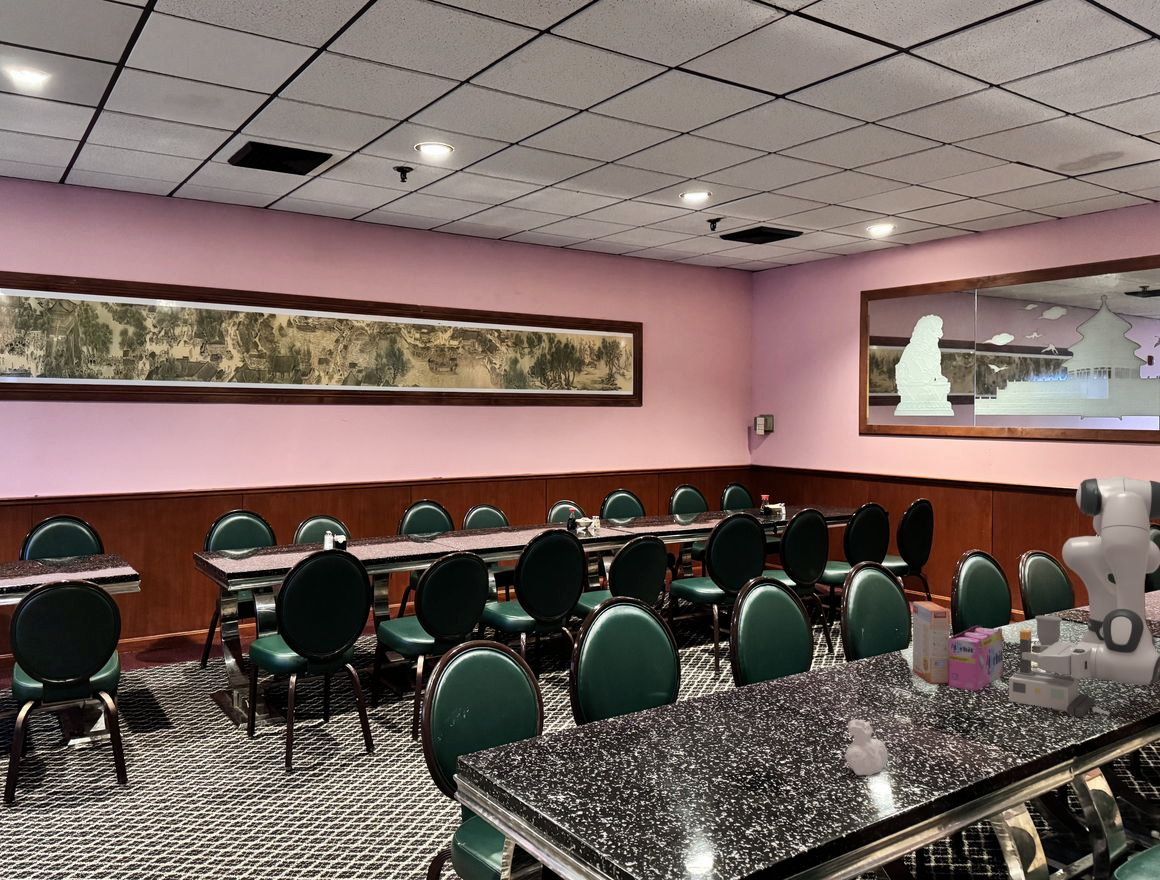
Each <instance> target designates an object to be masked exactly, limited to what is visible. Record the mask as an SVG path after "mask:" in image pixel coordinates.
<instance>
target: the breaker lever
mask: <svg viewBox="0 0 1160 880" xmlns="http://www.w3.org/2000/svg"><path fill="white" fill-rule="evenodd" d="M1023 652H1031V653H1032V630H1031V629H1030V630H1029V629H1021V630H1020V631H1019V670H1017V671H1016V672H1015V673H1016V674H1022V675H1028V676H1034V675H1035V671H1036V670H1032V661H1030V660H1025V659H1022V653H1023ZM1031 670H1032V671H1031Z"/></svg>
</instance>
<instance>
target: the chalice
mask: <svg viewBox="0 0 1160 880" xmlns="http://www.w3.org/2000/svg"><path fill="white" fill-rule="evenodd" d="M1035 620H1036V635H1037V639H1038V641H1039V644H1040V646H1044V645H1049V646H1051V645H1053V644H1054V643H1055V642H1059V641H1060V637H1061V622H1062V621H1063V618H1062V617H1060V616H1055V615H1036V616H1035ZM1044 672H1045V673H1051V674H1055V673H1054V672H1049V671H1044Z"/></svg>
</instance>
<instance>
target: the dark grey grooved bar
mask: <svg viewBox="0 0 1160 880" xmlns="http://www.w3.org/2000/svg"><path fill="white" fill-rule="evenodd" d="M1095 700H1096V699H1095V697H1092V696H1089V694H1086V693H1081V694H1080V695H1078V698H1077V699H1076V700H1075V701H1074V702H1072V703H1071V704H1070V705H1069V706H1068V707H1067V711H1066V714H1067V715H1071V716H1076V717H1080V718H1081V717H1084V715H1085V714H1086V713H1087V712H1088V711H1089V710H1090V709H1092V707H1093V706H1094V705H1095V704H1096V703H1095Z"/></svg>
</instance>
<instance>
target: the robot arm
mask: <svg viewBox="0 0 1160 880" xmlns="http://www.w3.org/2000/svg"><path fill="white" fill-rule="evenodd" d="M1075 500H1076V503H1077V506H1078V509H1079V511H1080V512H1081V513H1082V514H1084V515H1086V516H1090V517H1093V521H1092V526H1093V527H1092V528H1093V529H1094V531H1095V533H1096V534H1097V535H1098V536H1097V535H1096V536H1093V535H1083V536H1076V537H1070V538H1068V539H1067V540H1066V541H1065V542H1064V544H1063V547H1062V551H1061V557H1062V560H1063V562H1064V564H1065V565H1066V567H1068V568H1069V569H1070V570H1071V571H1073V572H1074V573H1075V574H1076V575H1077V576H1078V577H1079V578H1080V579H1081V581H1082V582H1083V584H1084V585H1085V589H1086V590H1087V594H1088V595H1087V596H1088V604H1089V617H1087V629H1088V630H1087V632H1086V633H1084V634H1083V635H1082V636H1081V637H1082V640H1081V641H1078V643H1070V642H1065V641H1058V642H1055V643H1054V644H1053V645H1051V646H1049V645H1044V646H1042V645H1037V644H1034V645H1031V652H1023V653H1022V659H1025V660H1030V661H1031V663H1032V662H1033V663H1037V665H1036V666H1037V668H1038V669H1039V670H1043V671H1044V672H1046V671H1049V672H1052V673H1054V674H1058V675H1065V676H1071V677H1072V678H1076V679H1078V680H1080V679H1092V680H1100V681H1102V680H1110V681H1113V682H1115V683H1119V684H1127V685H1136V686H1149V685H1153V684H1154V683H1156V682H1157V681H1158V679H1159V678H1160V654H1159V652H1158V651H1157V648H1156V647H1155V646H1156V641H1155V637H1154V635H1153V633H1152V631H1151V628H1150V627H1149V625H1148V622H1147V618H1146V617H1147V616H1146V594H1145V587H1146V585H1145V583H1146V581H1145V580H1146V574H1152V573H1154V572H1156V571H1157V570H1158V568H1159V567H1160V549H1159V546H1158V545H1157V544H1156V543H1155V542H1154V541H1153V540H1151V526H1150V525H1151V524H1150V521H1151V520H1157V519H1158V520H1159V519H1160V482H1159V481H1155V480H1149V481H1148V480H1141V479H1134V478H1129V477H1126V476H1124V475H1113V476H1109V477H1107V478H1100V479H1097V478H1087V479H1084V480H1083V481H1081V482H1080V485H1079V487H1078V488H1077V490H1076V495H1075ZM1109 574H1112V575H1113V579H1114V581H1115V583H1113V582H1111V581H1110V580H1109Z"/></svg>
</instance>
